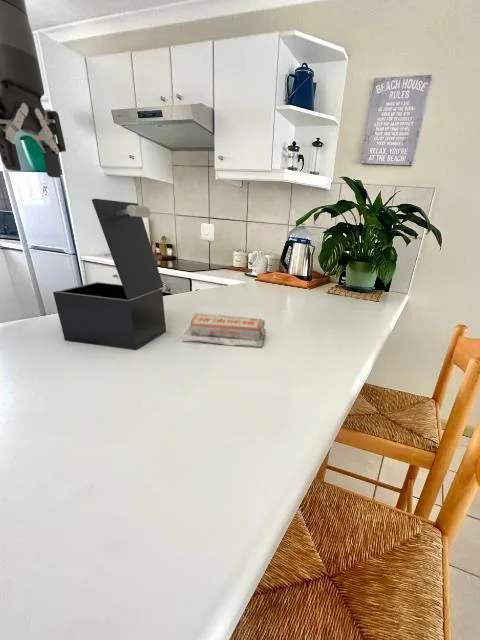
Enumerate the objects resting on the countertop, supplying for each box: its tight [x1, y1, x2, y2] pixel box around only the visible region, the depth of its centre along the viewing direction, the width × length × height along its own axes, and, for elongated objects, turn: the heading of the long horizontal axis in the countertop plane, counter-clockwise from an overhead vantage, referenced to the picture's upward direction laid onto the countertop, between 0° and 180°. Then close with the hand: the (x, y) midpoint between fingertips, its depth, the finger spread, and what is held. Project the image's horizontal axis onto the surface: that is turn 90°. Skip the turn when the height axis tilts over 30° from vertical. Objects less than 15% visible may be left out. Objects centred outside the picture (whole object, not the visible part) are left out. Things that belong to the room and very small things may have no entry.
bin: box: [52, 281, 167, 351], centre depth 69 cm, size 16×13×10 cm
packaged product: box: [180, 313, 267, 348], centre depth 74 cm, size 18×5×10 cm
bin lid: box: [91, 198, 164, 299], centre depth 62 cm, size 16×13×5 cm
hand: (35, 174), depth 57 cm, fingers open, 8 cm apart
